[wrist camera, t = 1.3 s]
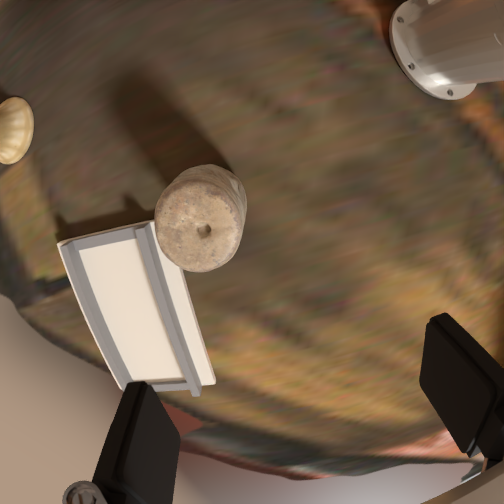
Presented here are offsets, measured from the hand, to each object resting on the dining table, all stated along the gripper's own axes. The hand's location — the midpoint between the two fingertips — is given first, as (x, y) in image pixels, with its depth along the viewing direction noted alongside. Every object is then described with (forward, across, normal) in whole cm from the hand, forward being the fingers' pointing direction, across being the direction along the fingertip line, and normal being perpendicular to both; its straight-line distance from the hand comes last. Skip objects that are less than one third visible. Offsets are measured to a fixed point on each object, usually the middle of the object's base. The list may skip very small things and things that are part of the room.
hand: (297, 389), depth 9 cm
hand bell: (+24, +26, -18) cm, 40 cm away
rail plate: (+24, +16, +9) cm, 30 cm away
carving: (+24, +4, -3) cm, 24 cm away
